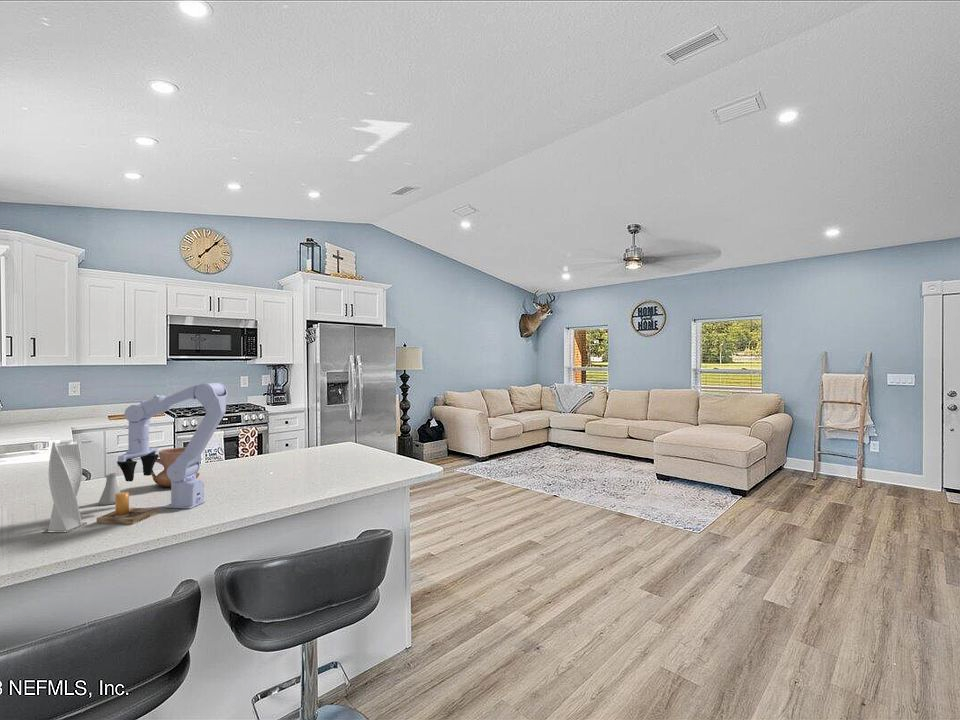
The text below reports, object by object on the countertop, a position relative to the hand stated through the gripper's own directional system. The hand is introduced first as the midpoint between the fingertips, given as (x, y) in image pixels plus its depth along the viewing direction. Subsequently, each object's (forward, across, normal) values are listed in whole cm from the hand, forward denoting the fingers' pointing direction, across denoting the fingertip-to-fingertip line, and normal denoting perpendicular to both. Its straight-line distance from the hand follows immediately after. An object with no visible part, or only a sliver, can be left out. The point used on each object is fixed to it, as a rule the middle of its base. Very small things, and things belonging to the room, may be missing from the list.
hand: (138, 478), depth 159 cm
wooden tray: (+9, +12, +7) cm, 17 cm away
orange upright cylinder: (+9, +13, +6) cm, 17 cm away
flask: (+10, -2, -12) cm, 16 cm away
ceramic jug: (+10, -25, -6) cm, 27 cm away
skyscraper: (+10, +22, -4) cm, 25 cm away
